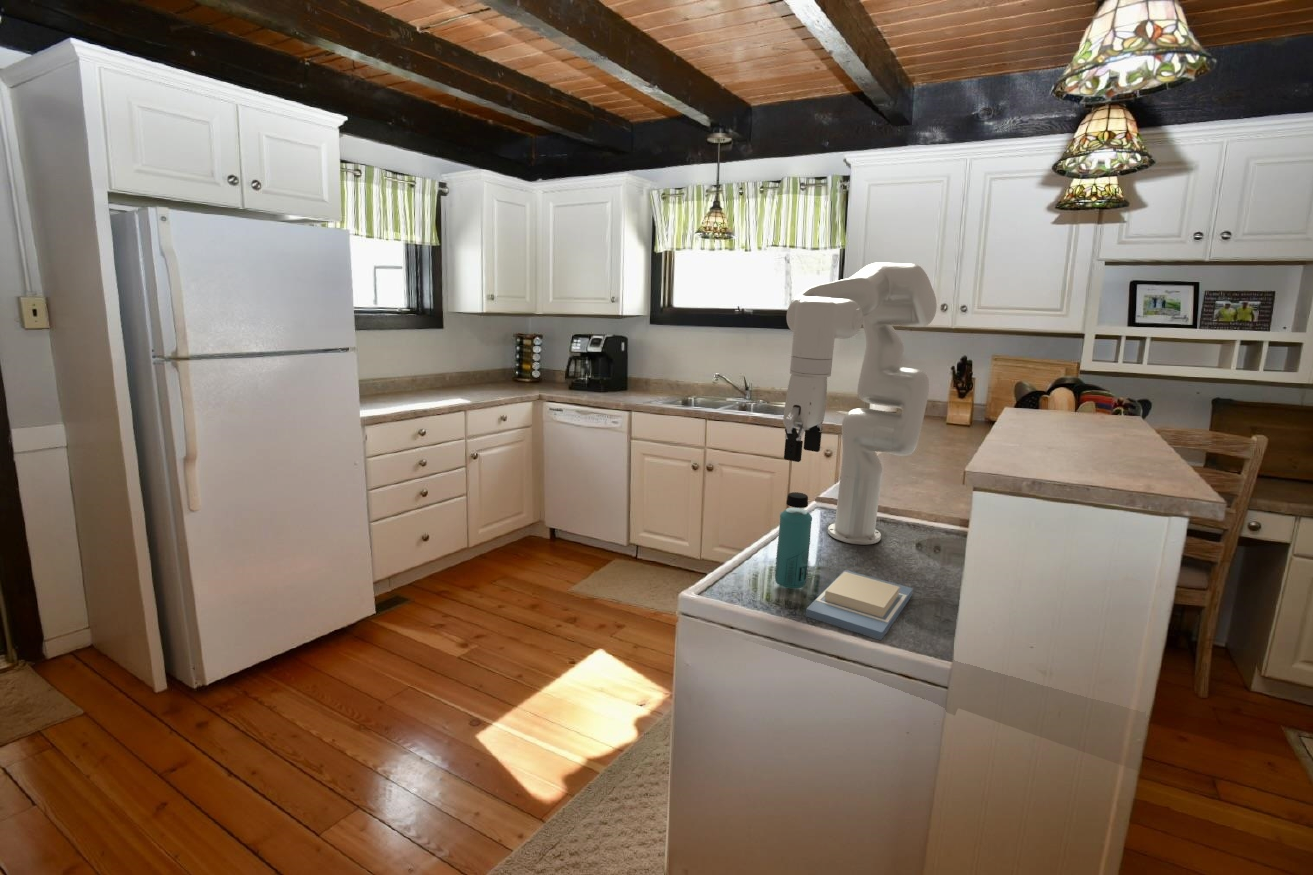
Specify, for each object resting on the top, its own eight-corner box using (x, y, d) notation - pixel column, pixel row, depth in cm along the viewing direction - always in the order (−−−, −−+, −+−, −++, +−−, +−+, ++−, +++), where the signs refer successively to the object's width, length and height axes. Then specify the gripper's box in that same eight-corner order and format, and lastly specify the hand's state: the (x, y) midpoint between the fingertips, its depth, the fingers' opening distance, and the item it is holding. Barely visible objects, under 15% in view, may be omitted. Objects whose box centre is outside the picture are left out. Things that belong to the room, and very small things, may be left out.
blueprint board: (844, 576, 147) (846, 560, 146) (912, 595, 139) (914, 579, 139) (805, 616, 129) (807, 598, 128) (881, 640, 121) (883, 621, 121)
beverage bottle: (799, 599, 135) (809, 502, 131) (767, 589, 139) (776, 494, 134) (810, 587, 141) (820, 493, 136) (780, 578, 144) (788, 486, 139)
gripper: (808, 360, 138) (800, 444, 142) (773, 368, 124) (765, 460, 128) (845, 365, 134) (836, 450, 138) (813, 373, 120) (803, 468, 124)
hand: (802, 455), depth 133 cm, fingers open, 9 cm apart
